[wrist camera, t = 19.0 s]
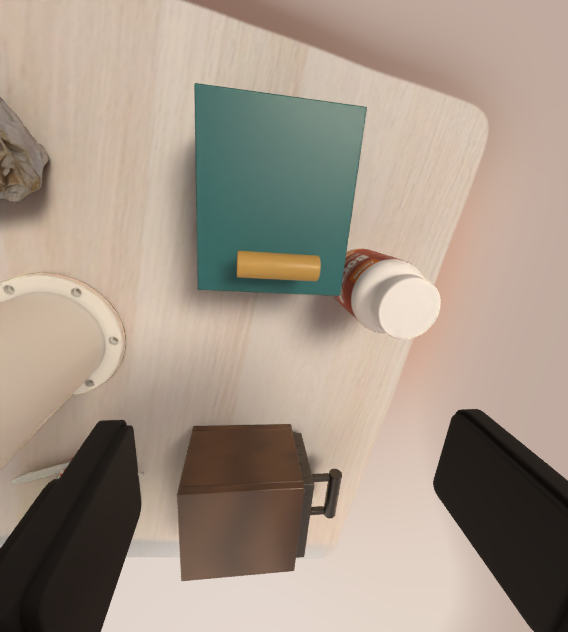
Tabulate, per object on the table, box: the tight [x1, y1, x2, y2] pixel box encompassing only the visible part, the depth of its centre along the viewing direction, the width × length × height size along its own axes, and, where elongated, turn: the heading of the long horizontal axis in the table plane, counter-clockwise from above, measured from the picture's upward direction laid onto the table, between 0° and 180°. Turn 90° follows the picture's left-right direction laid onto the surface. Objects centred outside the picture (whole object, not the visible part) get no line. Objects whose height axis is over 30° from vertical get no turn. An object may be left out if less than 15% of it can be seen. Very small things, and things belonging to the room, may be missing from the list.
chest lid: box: [195, 83, 367, 296], centre depth 19 cm, size 12×11×5 cm
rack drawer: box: [293, 433, 342, 558], centre depth 34 cm, size 15×10×7 cm
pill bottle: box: [334, 249, 441, 339], centre depth 26 cm, size 6×6×11 cm
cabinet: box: [177, 424, 305, 581], centre depth 33 cm, size 12×12×9 cm
